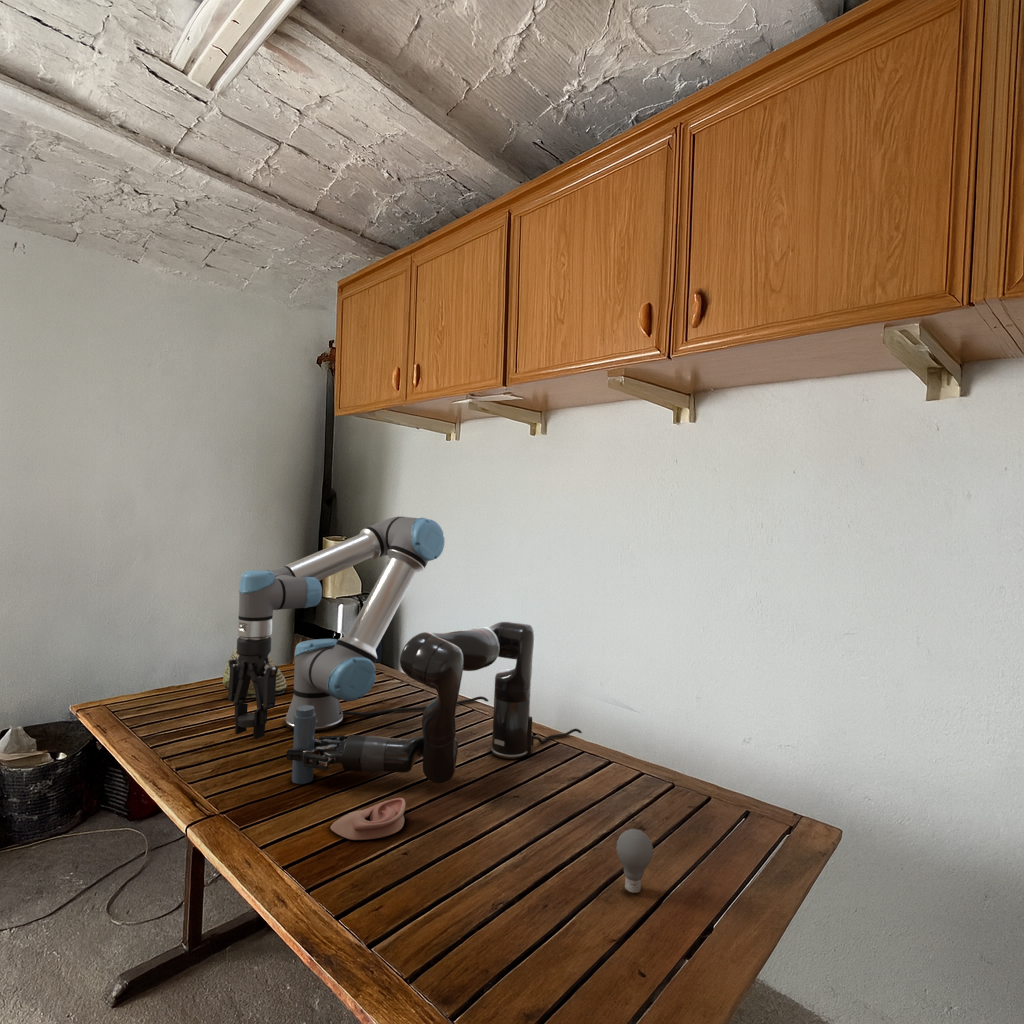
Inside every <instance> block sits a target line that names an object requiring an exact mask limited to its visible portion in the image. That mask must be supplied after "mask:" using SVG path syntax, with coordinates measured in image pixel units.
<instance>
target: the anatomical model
mask: <svg viewBox="0 0 1024 1024" xmlns="http://www.w3.org/2000/svg"><path fill="white" fill-rule="evenodd" d="M406 807H407V804H406V799H405V798H403V797H396V798H391V799H388V800H385V801H382V802H378V803H376V804H374V805H372V806H370V807H367V808H364V809H360V810H355V811H351V812H348V813H347V814H344V815H343V816H341V817H340V818H338V819H336V820H335V821H334V822H333V823H332V824H331V825H330V830H331V832H333V833H335V834H337V835H338V836H339V837H342V838H344V839H346V840H351V841H365V840H374V839H380V838H384V837H388V836H391V835H394V834H395V833H397V832H399V831H400V830H402V829H403V828H404V825H405V816H404V814H405V812H406V811H405V810H406Z"/></svg>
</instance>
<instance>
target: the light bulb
mask: <svg viewBox="0 0 1024 1024" xmlns="http://www.w3.org/2000/svg"><path fill="white" fill-rule="evenodd" d="M615 849H616V854H617V857H618V859H619V861H620V863H621V865H622V867H623V873H624V874H623V875H624V876H625V878H624V888H625V890H627V891H628V892H630V893H634V894H635V893H639V892H640V891H641V889H642V887H641V886H642V879H643V877H644V875H645V871H646V868H647V867H648V866H649V864H650V863H651V861H652V859H653V855H654V847H653V843H652V841H651V838H649V836H648V835H647V834H646V833H645V832H643V831H642V830H641V829H636V828H629V829H627V830H625V831H623V832H622V833H621V834H620V835H619V837H618V839H617V841H616V847H615Z"/></svg>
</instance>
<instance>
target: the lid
mask: <svg viewBox="0 0 1024 1024" xmlns="http://www.w3.org/2000/svg"><path fill="white" fill-rule="evenodd" d="M238 726H240V727H244V728H247V729H248V728H249V729H251V728H254V712H247V713H246V714H242V715H240V716H239V717H238Z"/></svg>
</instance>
